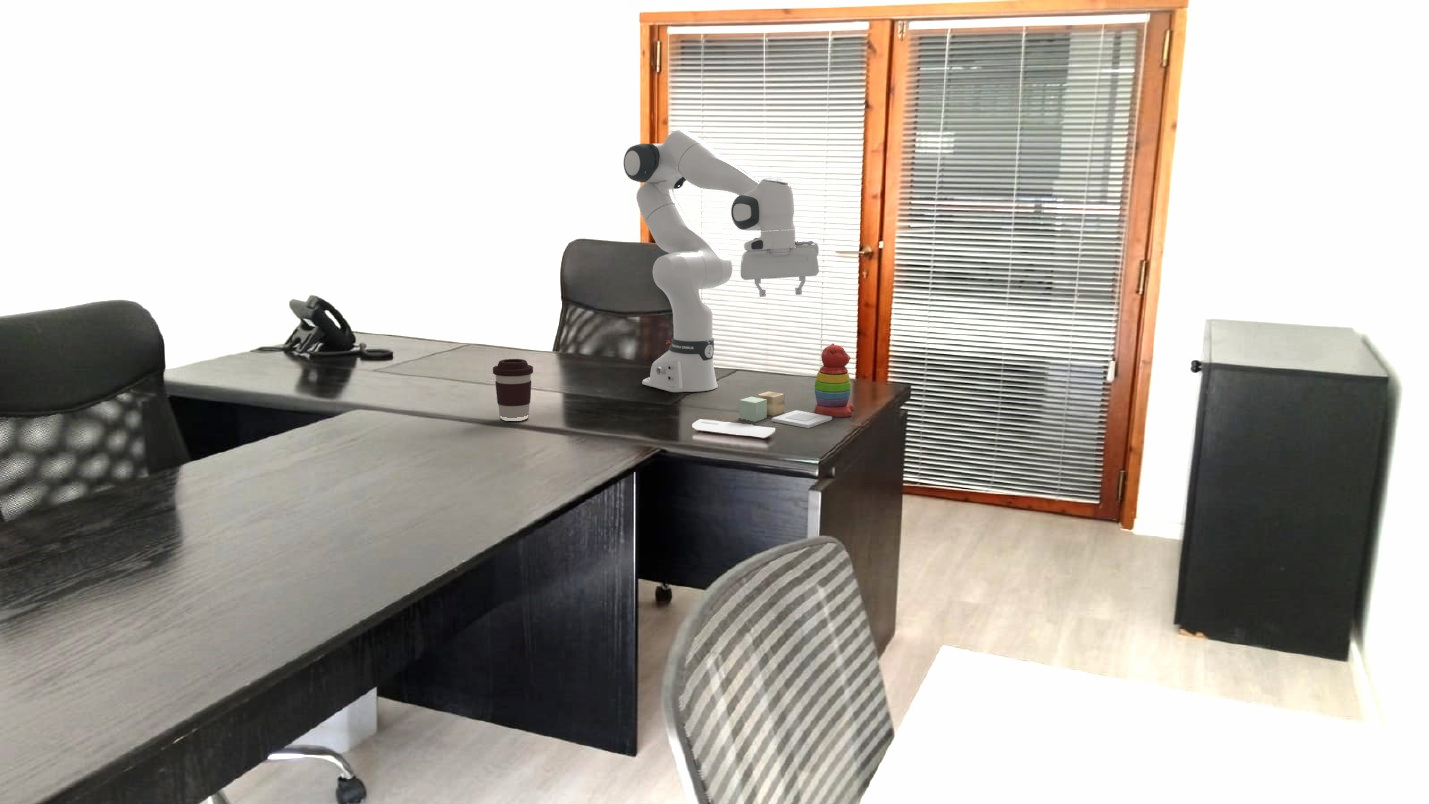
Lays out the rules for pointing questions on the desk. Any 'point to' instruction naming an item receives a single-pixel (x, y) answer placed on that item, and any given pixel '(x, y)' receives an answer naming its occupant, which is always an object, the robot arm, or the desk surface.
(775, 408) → the oak block
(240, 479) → the desk surface
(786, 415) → the plate
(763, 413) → the sage block
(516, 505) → the desk surface
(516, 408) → the coffee cup
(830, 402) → the stacking bear
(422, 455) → the desk surface
